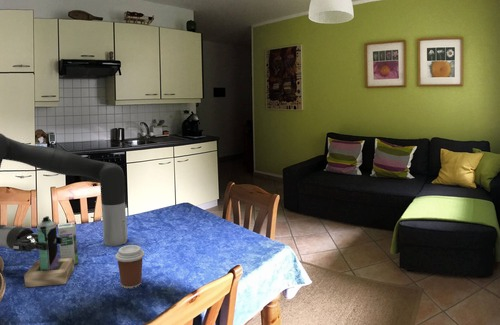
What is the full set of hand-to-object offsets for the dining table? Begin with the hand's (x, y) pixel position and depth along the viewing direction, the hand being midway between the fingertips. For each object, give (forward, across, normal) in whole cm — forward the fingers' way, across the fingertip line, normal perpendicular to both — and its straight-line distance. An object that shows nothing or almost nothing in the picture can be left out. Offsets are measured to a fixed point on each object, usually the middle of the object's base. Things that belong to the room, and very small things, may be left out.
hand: (54, 243), depth 129 cm
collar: (-2, 0, +12) cm, 12 cm away
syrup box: (-6, +12, +12) cm, 18 cm away
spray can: (-3, 0, +11) cm, 11 cm away
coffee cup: (+26, +5, +12) cm, 29 cm away
